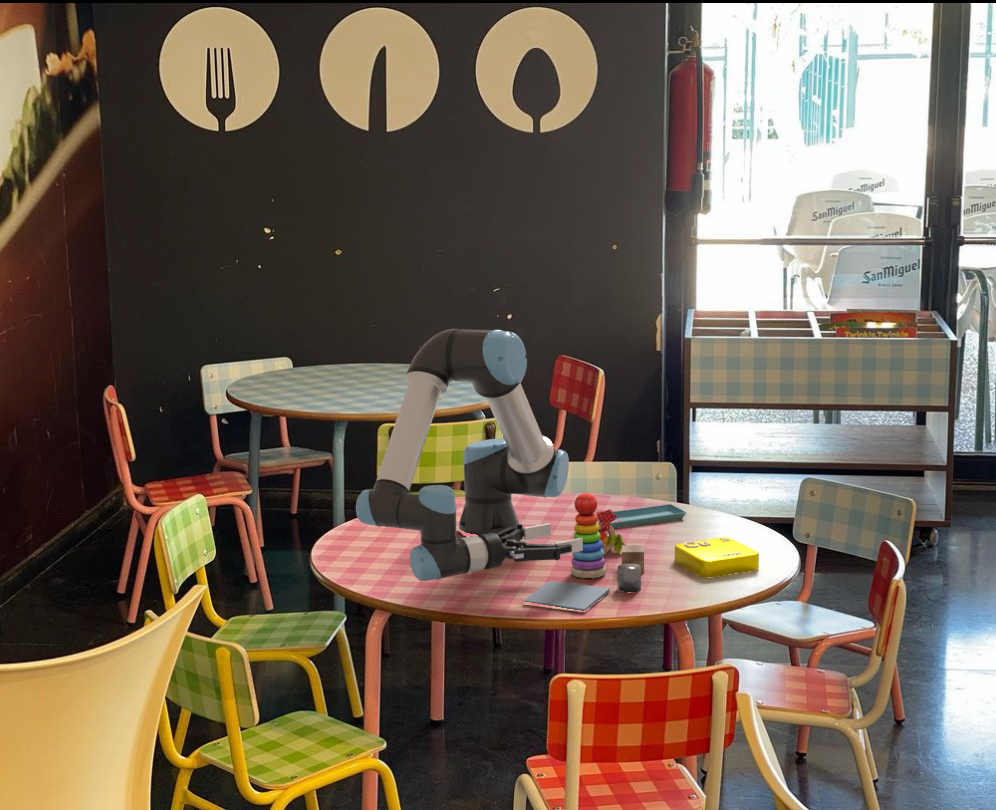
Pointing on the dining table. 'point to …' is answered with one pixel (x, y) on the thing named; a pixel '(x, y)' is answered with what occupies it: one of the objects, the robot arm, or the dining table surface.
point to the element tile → (716, 557)
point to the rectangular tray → (647, 515)
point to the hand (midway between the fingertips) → (565, 536)
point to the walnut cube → (633, 555)
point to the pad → (567, 595)
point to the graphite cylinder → (629, 577)
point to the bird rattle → (609, 532)
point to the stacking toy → (588, 540)
